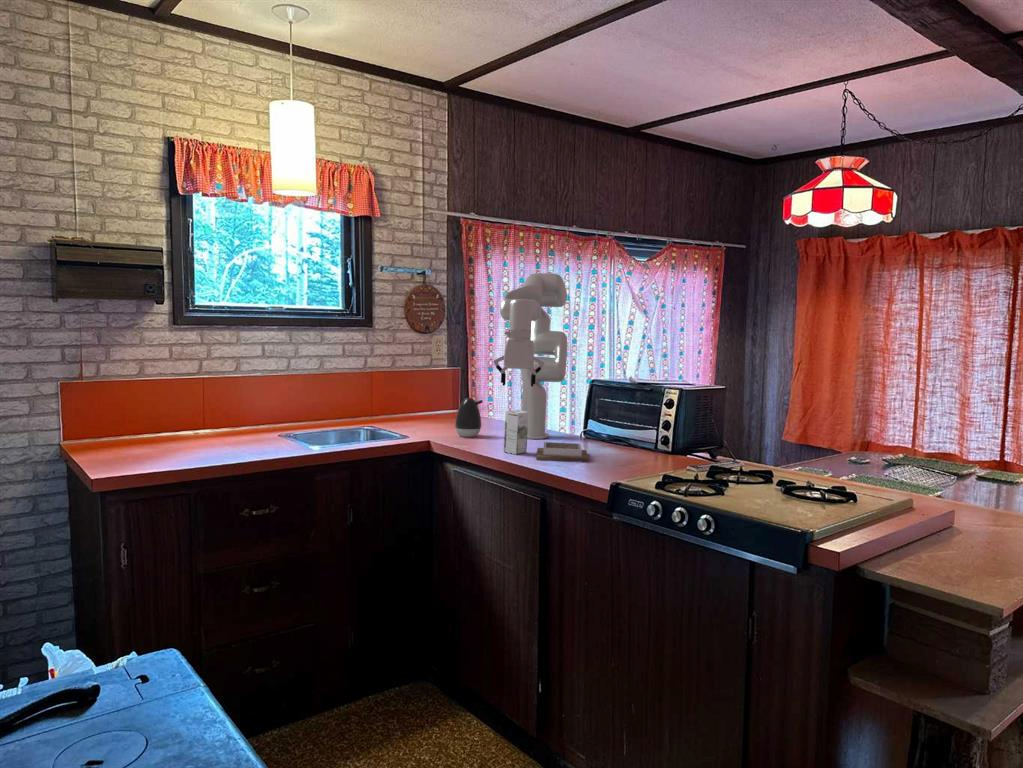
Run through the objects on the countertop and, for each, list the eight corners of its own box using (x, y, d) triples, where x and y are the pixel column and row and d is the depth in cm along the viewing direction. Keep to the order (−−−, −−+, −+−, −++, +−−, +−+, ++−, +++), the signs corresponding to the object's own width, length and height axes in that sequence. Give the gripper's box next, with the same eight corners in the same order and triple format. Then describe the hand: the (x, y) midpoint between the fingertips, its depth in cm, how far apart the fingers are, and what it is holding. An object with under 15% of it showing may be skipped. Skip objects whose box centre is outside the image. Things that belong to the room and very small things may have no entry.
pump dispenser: (480, 439, 283) (482, 399, 281) (453, 437, 283) (454, 398, 281) (482, 435, 293) (483, 396, 291) (456, 434, 293) (457, 395, 292)
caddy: (537, 451, 260) (537, 440, 260) (586, 453, 259) (586, 442, 259) (536, 459, 243) (536, 448, 243) (588, 462, 242) (588, 451, 242)
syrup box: (513, 450, 259) (515, 409, 258) (527, 453, 255) (528, 411, 254) (503, 452, 254) (504, 410, 253) (516, 455, 251) (518, 412, 250)
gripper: (493, 334, 248) (491, 385, 250) (545, 336, 247) (543, 387, 249) (495, 334, 256) (493, 383, 257) (545, 336, 255) (543, 385, 256)
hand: (518, 385), depth 253 cm, fingers open, 9 cm apart
